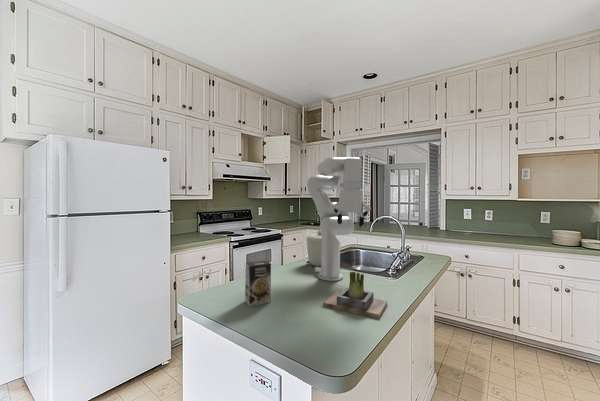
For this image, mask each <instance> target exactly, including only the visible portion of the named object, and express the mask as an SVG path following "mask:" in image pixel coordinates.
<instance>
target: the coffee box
mask: <svg viewBox="0 0 600 401" xmlns="http://www.w3.org/2000/svg"><path fill="white" fill-rule="evenodd" d="M244 280H245V282H244V283H245V287H244V288H245V290H244V292H245V294H244V300H245V303H246V304H247V305H248V306H249V307H254V306H259V305H264V304H269V303H271V297H272V296H271V295H272V294H271V293H272V285H271V284H272V282H271V280H272V264H271V262H269V261H267V260H258V261H250V262H249V261H248V262H245V278H244Z"/></svg>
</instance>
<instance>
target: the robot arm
mask: <svg viewBox="0 0 600 401" xmlns="http://www.w3.org/2000/svg"><path fill="white" fill-rule="evenodd" d="M316 170H317V172H318V174H317V175H315V174H314V175H312V176H310V177H309V178H308V179H307V182H306V183H307V190H308V194H309V196H310V197H311V199H312V200H313V202H314V204H315V208H316V210H317V213H318V216H319V218H320V219H321V220H320V223H319V227H320V229H319V230H321V236H322V267H320V266H314V271H315V272H316V273H319V274H318V278H319V279H321V280H323V281H328V282H337V281H340V280H343V277H344V276H343V274H342V273H341V270H340V269H341V243H340V240H339V239H338V238H337V236H347V235H351V234H352V233H353V232H354V230H355V224H354V219H353V218H352V215H351V214H350V213H353V214H358V215H359V221H358V222H359V224H358V225H359V227H363V226H364V225H365V217H366V216H367V215H368V214H369V213H370V211H371V209H372V207H371V206H370V205H368V204H366V203H364V195H363V194H364V193H363V189H361V188H362V187H361V184H362V159H361V158H360V157H355V156H353V157H351V156H348V157H341V156H340V157H337V156H336V157H335V156H334V157H333V156H332V157H327V158H324V160H322V161H320V162H319V163H318V165H317V168H316ZM342 178H343V181H342V182H341V180H342ZM339 186H340V187H342V188H341V189H340V192H339V197H338V201H337V202H336V201H331V199H330V197H329V195H328V194H327V193H326V192H324V191H335V190H337V189H338V187H339ZM364 209H365V211H364Z"/></svg>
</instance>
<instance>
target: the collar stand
mask: <svg viewBox="0 0 600 401" xmlns="http://www.w3.org/2000/svg"><path fill="white" fill-rule="evenodd" d="M348 291H349V287H345V288H344V289H343V290H342V291H337V290H335V291H334V293H332V294H331V295H330V296H329V297H328V298H327V299H325V300H324V301H323V302H322V306H323V307H324V308H325V307H326V308H329V309H334V310H337V311H338V310H339V311H344V312H348V313H350V314H351V313H353V314H356V315H360V316H364V317H370V318H374V319H379V320H380V318H381V316H382V315H383V313H384V312H385V310H386V307H387V306H388V300H384V299H378V298H374V295H375V294H374V291H369V290H368V291H367V290H364V294H363V299H362V300H360V299H355V298H350V297H348Z"/></svg>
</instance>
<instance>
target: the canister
mask: <svg viewBox="0 0 600 401" xmlns="http://www.w3.org/2000/svg"><path fill="white" fill-rule="evenodd" d="M305 239H306V240H305V241H306V249H307V258H308V262H309V264H310V265H311V266H313V267H319V268H321V267H322V236H321V229H318V230H317V233H311V234H307V235H306V236H305Z"/></svg>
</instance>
